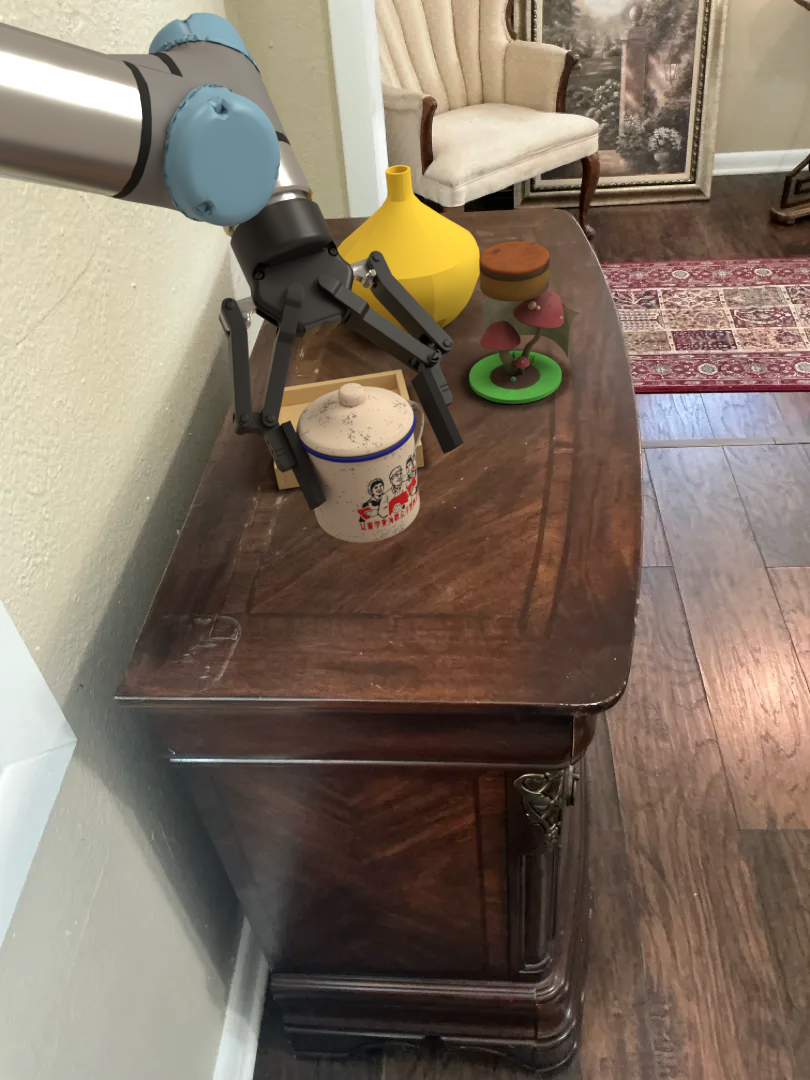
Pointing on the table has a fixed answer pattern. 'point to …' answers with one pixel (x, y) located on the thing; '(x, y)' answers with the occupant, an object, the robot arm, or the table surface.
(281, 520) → the table surface
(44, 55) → the robot arm
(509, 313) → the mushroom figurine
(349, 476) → the teacup with lid
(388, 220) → the vase
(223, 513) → the table surface
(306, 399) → the wooden tray
